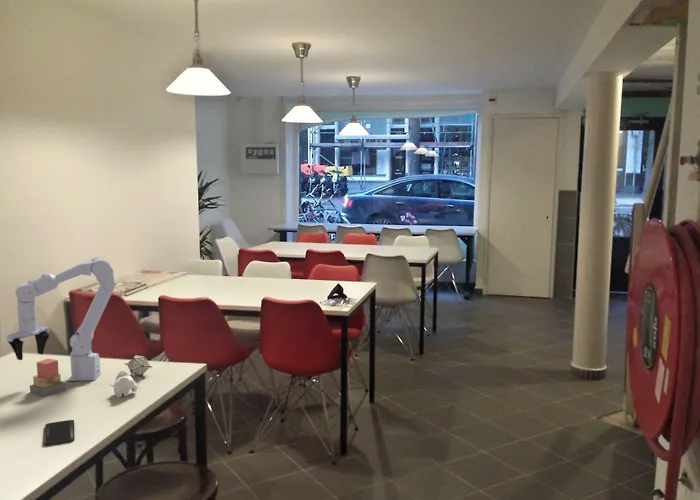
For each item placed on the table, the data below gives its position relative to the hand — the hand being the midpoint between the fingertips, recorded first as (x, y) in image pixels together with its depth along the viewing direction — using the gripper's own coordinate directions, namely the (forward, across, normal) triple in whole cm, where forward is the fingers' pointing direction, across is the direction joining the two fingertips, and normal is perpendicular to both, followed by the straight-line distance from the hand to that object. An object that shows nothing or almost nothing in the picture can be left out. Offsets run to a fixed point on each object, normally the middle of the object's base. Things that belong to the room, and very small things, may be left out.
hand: (30, 356), depth 218 cm
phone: (+11, -20, -44) cm, 50 cm away
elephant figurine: (+11, +11, -35) cm, 38 cm away
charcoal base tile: (+11, 0, -10) cm, 15 cm away
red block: (+5, 0, -10) cm, 11 cm away
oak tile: (+8, 0, -9) cm, 12 cm away
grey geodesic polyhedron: (+11, +26, -24) cm, 37 cm away
